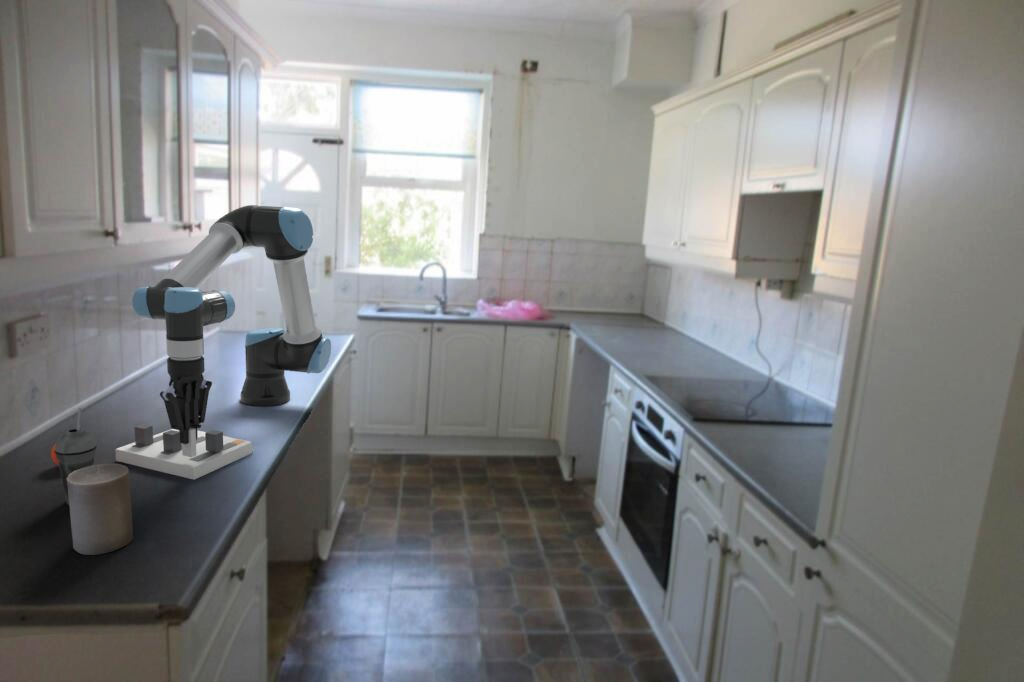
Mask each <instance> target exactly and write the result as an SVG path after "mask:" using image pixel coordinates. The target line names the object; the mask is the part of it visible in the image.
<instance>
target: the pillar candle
mask: <svg viewBox="0 0 1024 682" xmlns="http://www.w3.org/2000/svg"><path fill="white" fill-rule="evenodd" d="M66 479H67V485H68V496H69V505H68V506H69V515H70V517H69V518H70V528H71V536H72V537H71V538H72V548H73V550H74V551H75V552H77V553H79V554H81V555H84V556H95V555H97V556H98V555H103V554H108V553H110V552H111V553H112V552H114V551H116V550H117V551H118V550H119V549H121V548H123V547H125V546H128V545H129V544H130V543H131V542H132V541H133V540H134V537H135V536H134V532H133V529H134V528H133V525H134V524H133V513H132V499H131V498H132V497H131V484H130V470H129V468H128V466H126V465H123V464H121V463H101V464H94V465H93V466H88V467H85V468H81V469H79V470H75V471H73V472H72V473H70V474H69V475H68V477H67V478H66Z"/></svg>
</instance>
